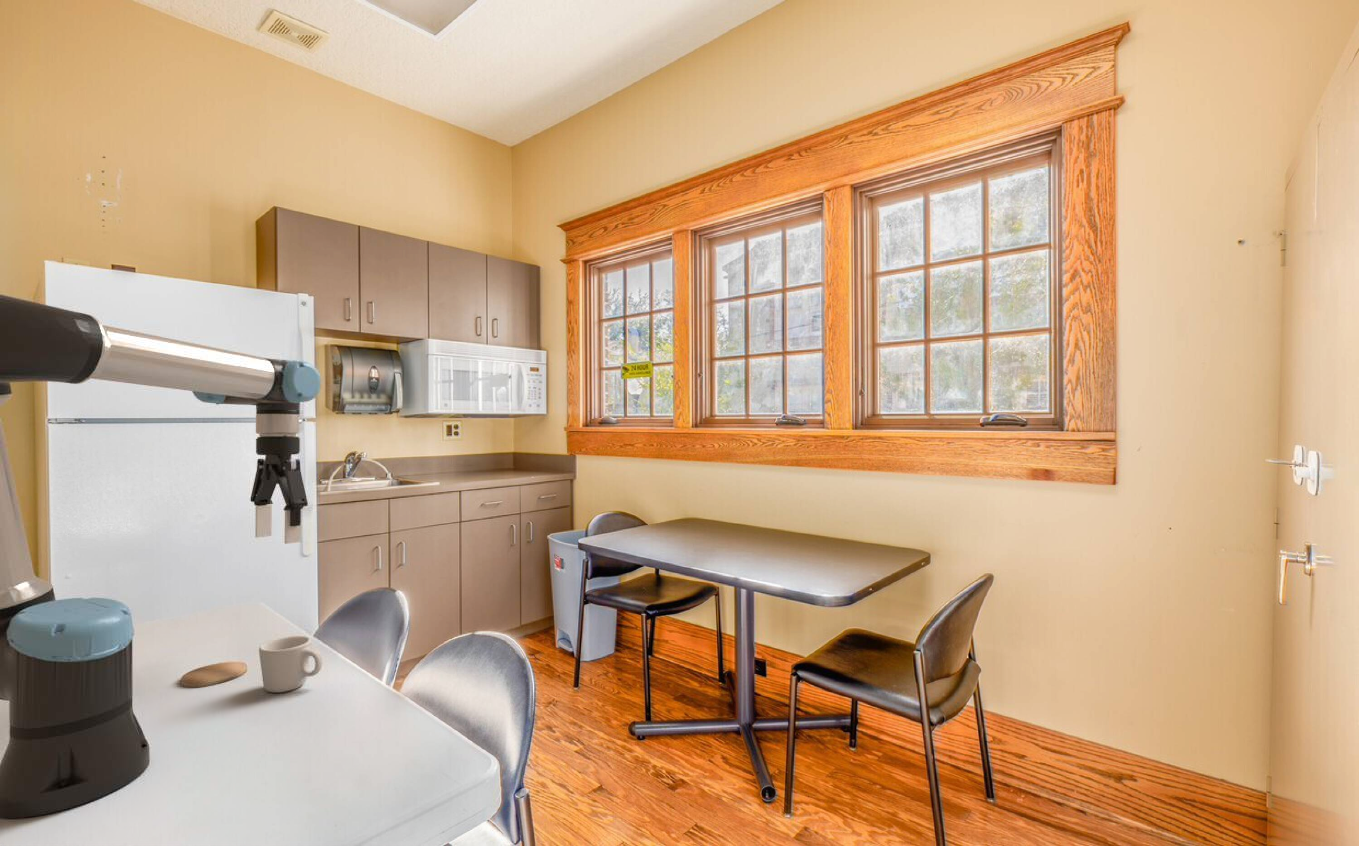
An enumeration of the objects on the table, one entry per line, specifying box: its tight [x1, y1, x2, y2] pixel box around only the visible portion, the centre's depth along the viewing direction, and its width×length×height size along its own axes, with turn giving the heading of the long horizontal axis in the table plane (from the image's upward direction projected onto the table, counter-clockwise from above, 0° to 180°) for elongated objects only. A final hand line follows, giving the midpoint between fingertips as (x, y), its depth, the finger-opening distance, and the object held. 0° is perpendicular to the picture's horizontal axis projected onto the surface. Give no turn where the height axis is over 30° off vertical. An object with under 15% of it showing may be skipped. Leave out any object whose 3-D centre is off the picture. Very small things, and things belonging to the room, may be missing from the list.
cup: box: [258, 635, 323, 693], centre depth 112 cm, size 11×8×8 cm
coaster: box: [180, 661, 248, 688], centre depth 117 cm, size 10×10×1 cm
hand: (277, 539), depth 126 cm, fingers open, 13 cm apart
